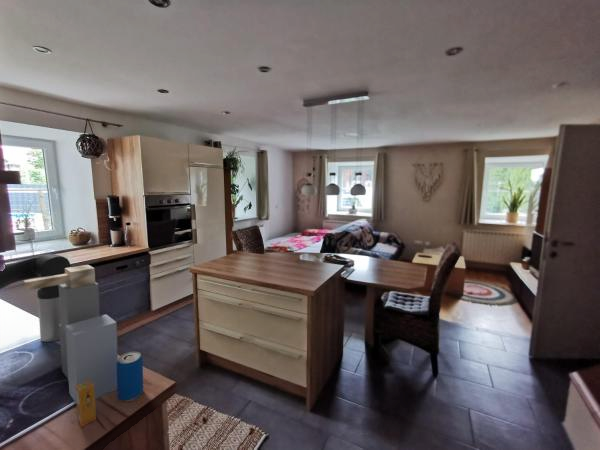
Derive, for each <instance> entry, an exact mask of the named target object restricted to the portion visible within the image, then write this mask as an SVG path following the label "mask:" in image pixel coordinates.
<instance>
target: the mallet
mask: <svg viewBox="0 0 600 450" xmlns="http://www.w3.org/2000/svg"><path fill="white" fill-rule="evenodd" d="M95 270H96V269H95V267H93V266H92V265H89V264H83V265H76V266H71V267H69V268H65V274H60V275H54V276H48V277H37V278H31V279H26V280H23V289H24V290H25V291H26V292H27V291H33V290H39V289H40V288H44V287H49V286H55V285H60V284H65V283H66V284H67V285H68V286H69V287H70V288H76V287H81V286H86V285H91V284H95V282H96V272H95Z"/></svg>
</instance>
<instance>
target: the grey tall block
mask: <svg viewBox="0 0 600 450" xmlns="http://www.w3.org/2000/svg"><path fill="white" fill-rule="evenodd" d="M117 327H118V326H117V321H115V320H114V319H113V318H112V317H110V316H109V315H108V314H102V315H100V316H98V317H94V318H91V319H87V320H84V321H80V322H77V323H73V324H70V325H66V326H65V328H66V345H67V362H68V379H69V380H68V379H67V380H68V393H69V395H70V397H71V399H72V400H73V401H74V404H76V405H77V403H76V391H75V386H77V385H80V384H82V383H84V382H86V381H88V380H90V381H91V383H93V384H94V393H95V400H97V399H98V398H100V397H102V396H104V395H106V394H108V393H110V392H112V391H115V390H117V362H118V359H119V356H118V354H119V353H118V334H117V333H118V332H117V330H118V328H117Z"/></svg>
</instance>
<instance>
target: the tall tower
mask: <svg viewBox="0 0 600 450" xmlns="http://www.w3.org/2000/svg"><path fill="white" fill-rule="evenodd" d="M59 301H60V317H61V324H60V325H59V328H60V340H59V341H60V343H59V344H60V355H61V357H60V358H61V359H60V360H61V371H62V374H64V376H65V377H66V379H67V380H68V381H69V379H68V362H67V345H66V328H65V326H66V325H70V324H73V323H77V322H80V321H84V320H87V319H91V318H94V317H98V316H101V315H100V292H99V283H98V282H96V281H95V284H91V285H86V286H81V287H76V288H70V287H69V286H68V285H67V284H66V283H65V284H60V285H59Z"/></svg>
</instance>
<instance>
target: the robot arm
mask: <svg viewBox="0 0 600 450" xmlns="http://www.w3.org/2000/svg"><path fill="white" fill-rule="evenodd" d="M3 264H4V265H5V269H4V270H3V271H0V290H2V289H4V288H6V287H8V286H10V285H13V284H14V283H18V282H21V281H24V280H29V279H36V278H42V277H48V276H54V275H60V274H65V268H69V267H72V266H71V262H70V260H68V258H67V257H65V256H62V255H58V254H56V253H55V254H54V253H43V254H40V255H37V256H32V257H30V258H29V257H28V258H26V259H23V260H22V259H21V260H18V261H15V262H11V263H3ZM36 295H37V306H38V307H37V308H38V319H39V320H38V322H39V334H40V341H41V342H44V343H48V342H49V343H50V342H56V341H60V328H59V325H60V324H61V317H60V301H59V285H55V286H49V287H44V288H38V289H37V294H36Z"/></svg>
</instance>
